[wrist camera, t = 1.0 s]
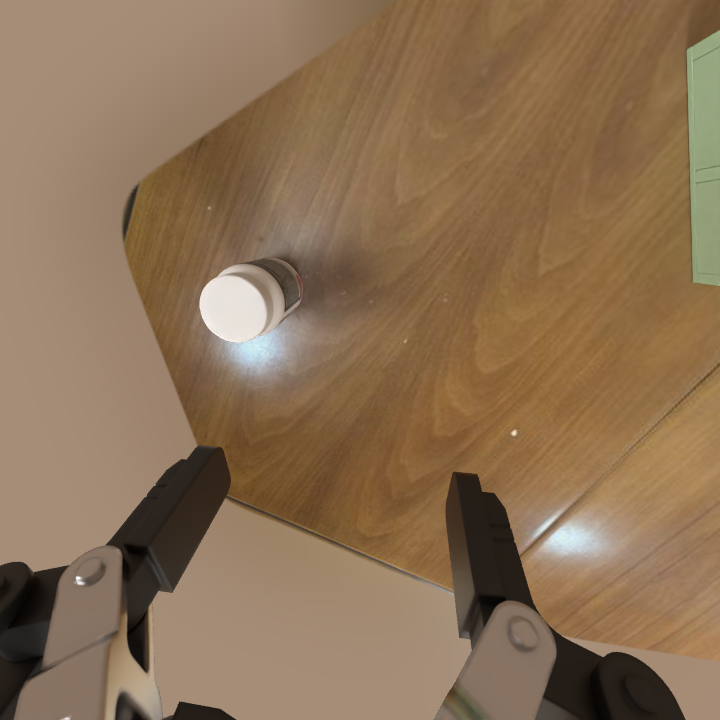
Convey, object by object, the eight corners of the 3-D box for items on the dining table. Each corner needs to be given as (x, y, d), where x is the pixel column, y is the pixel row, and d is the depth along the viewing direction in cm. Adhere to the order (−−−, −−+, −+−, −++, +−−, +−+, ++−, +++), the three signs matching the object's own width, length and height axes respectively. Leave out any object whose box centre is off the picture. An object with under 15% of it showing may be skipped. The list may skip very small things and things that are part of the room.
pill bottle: (257, 246, 26) (204, 251, 18) (312, 274, 26) (284, 289, 18) (238, 301, 27) (182, 327, 19) (291, 325, 28) (257, 360, 20)
